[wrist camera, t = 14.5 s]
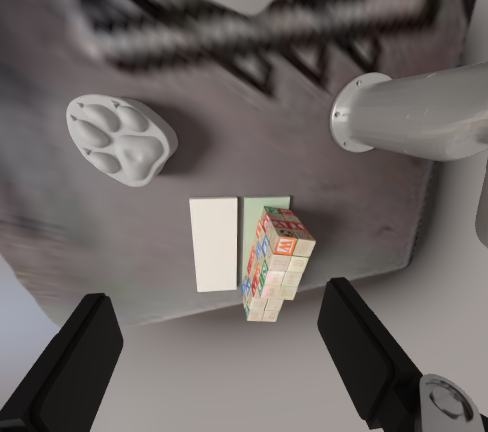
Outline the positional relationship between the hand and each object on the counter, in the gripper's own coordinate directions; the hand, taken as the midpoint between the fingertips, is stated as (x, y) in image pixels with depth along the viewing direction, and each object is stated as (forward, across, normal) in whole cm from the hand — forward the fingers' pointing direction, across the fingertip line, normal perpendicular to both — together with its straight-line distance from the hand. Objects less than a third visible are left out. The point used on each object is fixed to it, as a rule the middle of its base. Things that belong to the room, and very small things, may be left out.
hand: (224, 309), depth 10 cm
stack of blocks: (+32, -10, +20) cm, 39 cm away
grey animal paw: (+34, +14, -4) cm, 37 cm away
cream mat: (+33, +1, +18) cm, 38 cm away
